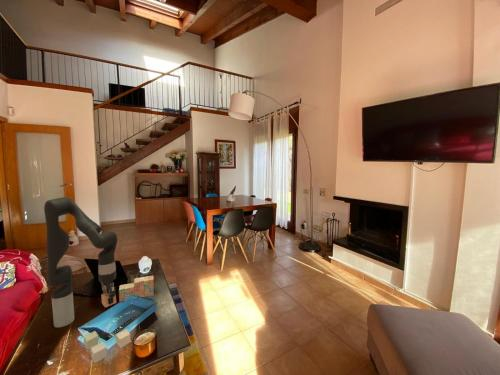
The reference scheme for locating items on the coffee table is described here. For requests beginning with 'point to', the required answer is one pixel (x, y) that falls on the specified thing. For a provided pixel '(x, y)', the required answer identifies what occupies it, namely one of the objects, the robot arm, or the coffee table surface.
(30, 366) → the coffee table surface
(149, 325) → the coffee table surface
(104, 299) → the terracotta cube
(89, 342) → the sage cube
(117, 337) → the cream cube
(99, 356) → the beige cube
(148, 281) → the stack of blocks
